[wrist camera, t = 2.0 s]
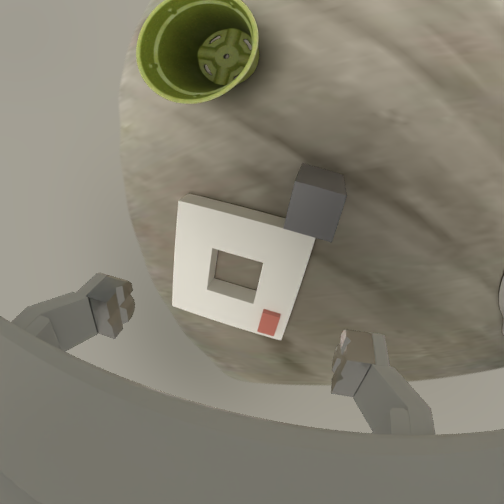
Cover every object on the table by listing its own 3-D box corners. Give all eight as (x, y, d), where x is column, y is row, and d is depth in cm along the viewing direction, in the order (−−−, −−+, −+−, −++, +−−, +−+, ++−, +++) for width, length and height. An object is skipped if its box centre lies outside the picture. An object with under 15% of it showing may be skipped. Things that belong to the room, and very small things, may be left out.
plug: (343, 174, 28) (346, 195, 22) (331, 212, 30) (331, 242, 24) (302, 163, 28) (295, 181, 22) (293, 201, 30) (283, 228, 24)
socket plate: (316, 227, 31) (315, 240, 28) (284, 327, 38) (280, 344, 35) (188, 193, 33) (175, 202, 30) (180, 294, 40) (169, 309, 37)
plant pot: (242, -3, 22) (210, -35, 14) (297, 68, 24) (284, 54, 17) (168, 51, 26) (117, 42, 18) (216, 119, 28) (176, 128, 21)
